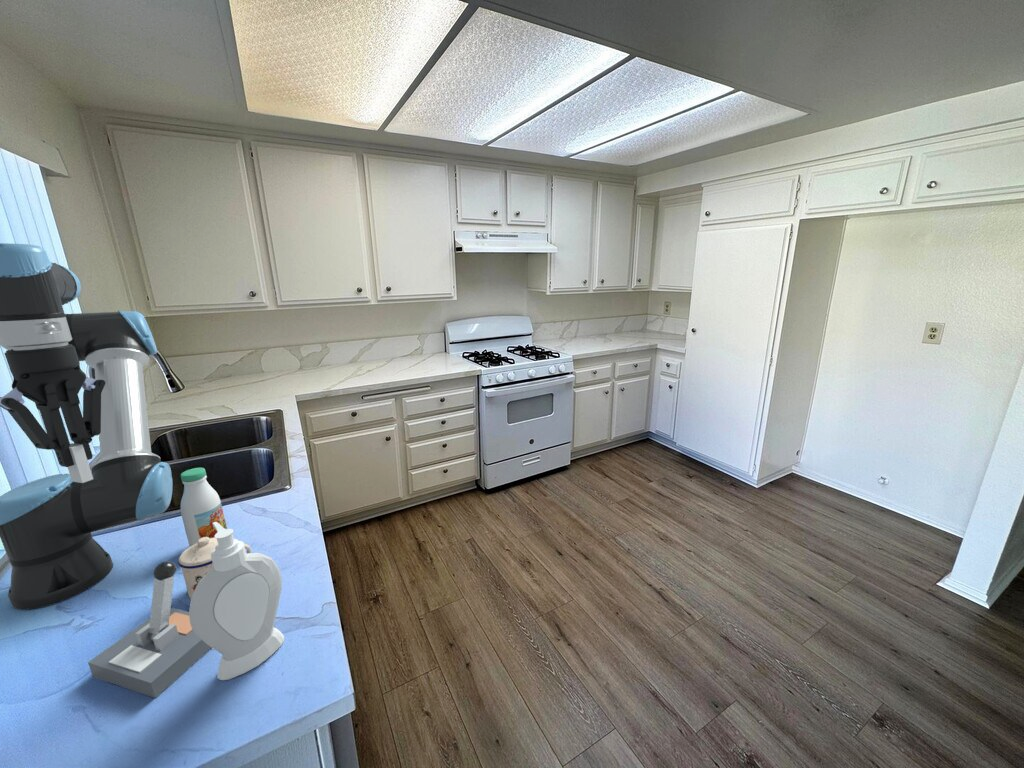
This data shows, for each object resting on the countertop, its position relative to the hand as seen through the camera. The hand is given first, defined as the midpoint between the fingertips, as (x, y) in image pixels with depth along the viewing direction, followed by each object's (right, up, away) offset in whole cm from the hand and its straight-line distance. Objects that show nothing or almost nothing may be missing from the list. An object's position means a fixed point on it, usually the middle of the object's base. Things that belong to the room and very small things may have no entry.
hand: (82, 480), depth 71 cm
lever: (+14, -26, -1) cm, 30 cm away
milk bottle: (+1, -23, +29) cm, 37 cm away
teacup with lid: (+13, -26, +16) cm, 33 cm away
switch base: (+14, -30, 0) cm, 33 cm away
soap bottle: (+30, -30, -1) cm, 42 cm away
